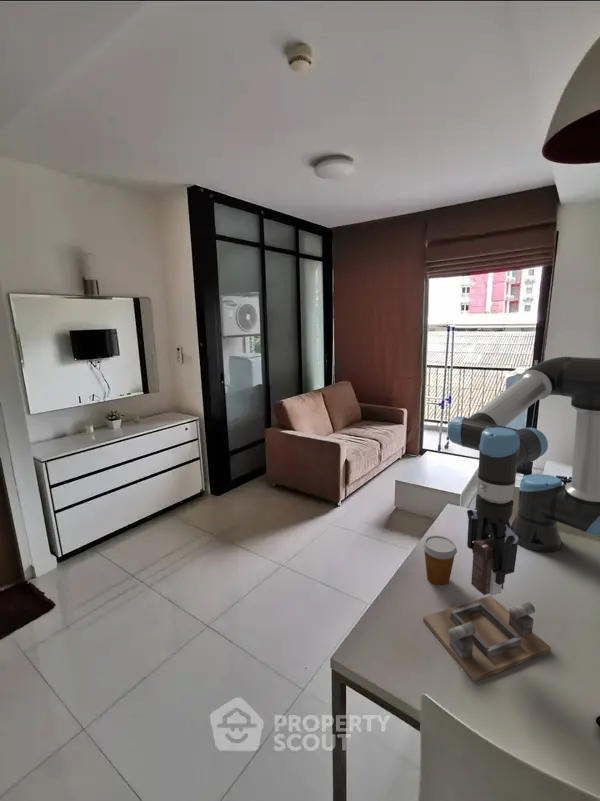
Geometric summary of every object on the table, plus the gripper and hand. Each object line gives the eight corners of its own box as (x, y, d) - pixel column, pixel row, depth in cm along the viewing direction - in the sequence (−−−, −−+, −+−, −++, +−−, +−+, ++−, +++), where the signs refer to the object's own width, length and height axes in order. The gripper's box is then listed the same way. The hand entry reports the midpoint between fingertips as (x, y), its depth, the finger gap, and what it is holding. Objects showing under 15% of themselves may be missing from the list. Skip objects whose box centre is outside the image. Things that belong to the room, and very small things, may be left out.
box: (488, 577, 93) (493, 534, 91) (503, 589, 89) (508, 545, 86) (468, 583, 91) (473, 539, 89) (483, 596, 87) (488, 550, 85)
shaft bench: (492, 598, 105) (494, 574, 104) (553, 650, 88) (556, 623, 87) (420, 621, 98) (421, 596, 97) (471, 683, 81) (473, 654, 80)
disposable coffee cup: (457, 591, 108) (460, 554, 106) (423, 588, 110) (424, 551, 108) (451, 570, 117) (453, 535, 115) (419, 567, 119) (421, 533, 117)
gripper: (454, 483, 92) (449, 568, 97) (514, 517, 76) (504, 616, 81) (479, 478, 95) (472, 561, 99) (542, 511, 78) (530, 607, 83)
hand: (486, 586), depth 90 cm, fingers closed on box, 4 cm apart
